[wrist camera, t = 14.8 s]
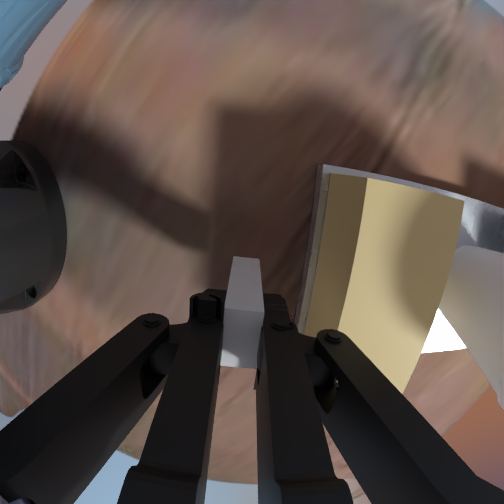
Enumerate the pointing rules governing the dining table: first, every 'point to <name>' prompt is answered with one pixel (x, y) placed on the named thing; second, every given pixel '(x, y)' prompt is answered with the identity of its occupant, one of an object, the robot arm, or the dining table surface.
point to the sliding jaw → (383, 268)
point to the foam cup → (478, 309)
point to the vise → (470, 234)
